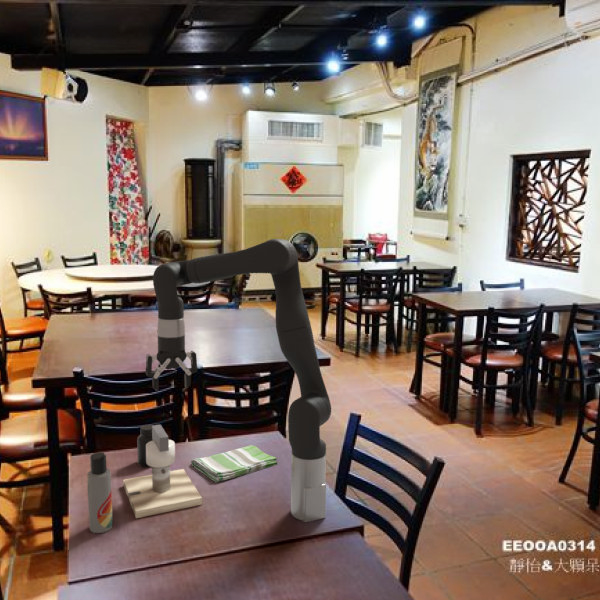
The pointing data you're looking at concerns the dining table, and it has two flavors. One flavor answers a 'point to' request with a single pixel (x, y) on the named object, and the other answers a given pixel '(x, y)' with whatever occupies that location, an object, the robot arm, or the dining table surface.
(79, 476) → the dining table surface
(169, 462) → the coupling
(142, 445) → the supplement bottle
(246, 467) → the dish towel
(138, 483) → the post board
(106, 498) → the lotion bottle
